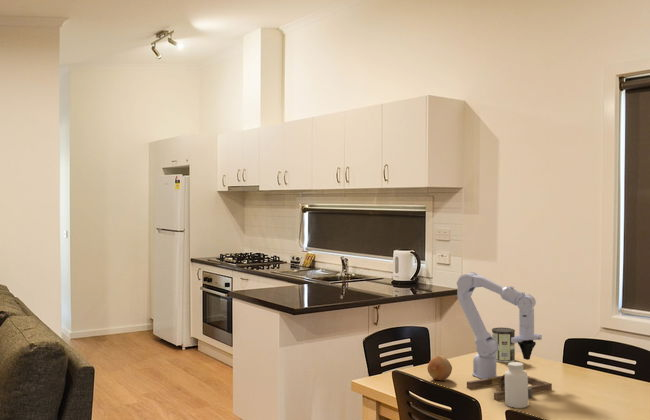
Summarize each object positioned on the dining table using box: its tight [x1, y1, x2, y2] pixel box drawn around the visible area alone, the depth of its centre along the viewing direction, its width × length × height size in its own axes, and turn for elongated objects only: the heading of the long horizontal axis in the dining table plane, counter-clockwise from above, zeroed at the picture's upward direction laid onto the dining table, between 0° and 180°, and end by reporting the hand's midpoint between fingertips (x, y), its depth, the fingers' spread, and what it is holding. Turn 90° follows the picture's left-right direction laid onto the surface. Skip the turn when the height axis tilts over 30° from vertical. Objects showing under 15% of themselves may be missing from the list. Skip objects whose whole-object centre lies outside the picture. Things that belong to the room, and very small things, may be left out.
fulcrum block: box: [528, 387, 532, 399], centre depth 230 cm, size 3×3×3 cm
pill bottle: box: [504, 361, 529, 409], centre depth 220 cm, size 8×8×15 cm
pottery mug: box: [499, 373, 505, 391], centre depth 238 cm, size 12×10×8 cm
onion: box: [427, 355, 453, 381], centre depth 252 cm, size 10×10×10 cm
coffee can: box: [491, 327, 516, 364], centre depth 284 cm, size 10×10×14 cm
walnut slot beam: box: [466, 375, 553, 401], centre depth 239 cm, size 17×28×2 cm, turn 116°
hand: (526, 359), depth 246 cm, fingers closed
